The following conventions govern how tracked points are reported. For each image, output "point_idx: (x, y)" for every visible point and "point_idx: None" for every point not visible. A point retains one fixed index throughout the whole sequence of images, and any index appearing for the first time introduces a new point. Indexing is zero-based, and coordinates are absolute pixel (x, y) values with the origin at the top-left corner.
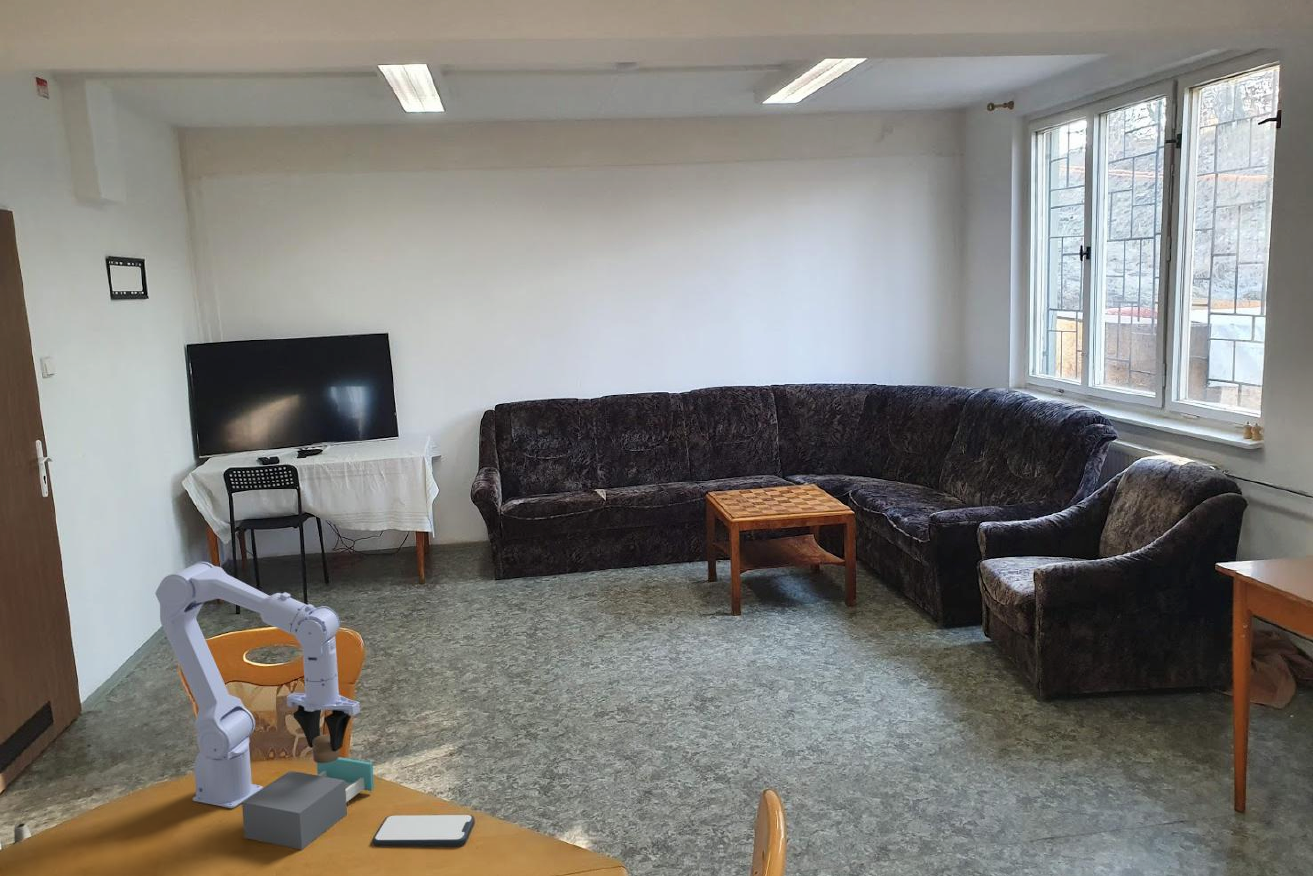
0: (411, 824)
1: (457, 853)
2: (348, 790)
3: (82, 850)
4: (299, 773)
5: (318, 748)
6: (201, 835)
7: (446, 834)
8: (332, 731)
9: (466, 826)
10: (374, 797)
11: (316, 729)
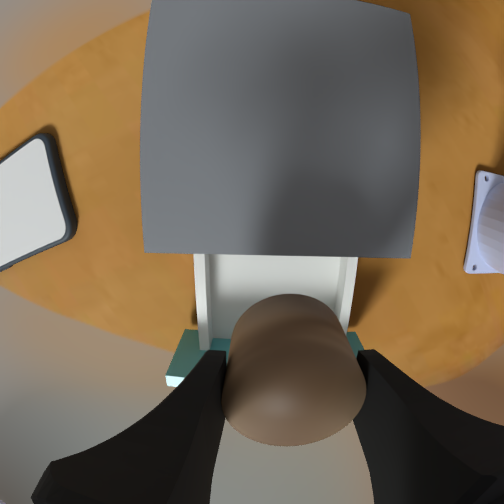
0: (16, 217)
1: None
2: (195, 281)
3: None
4: (364, 248)
5: (293, 334)
6: (457, 59)
7: None
8: (157, 428)
9: None
10: (174, 316)
11: (373, 442)
